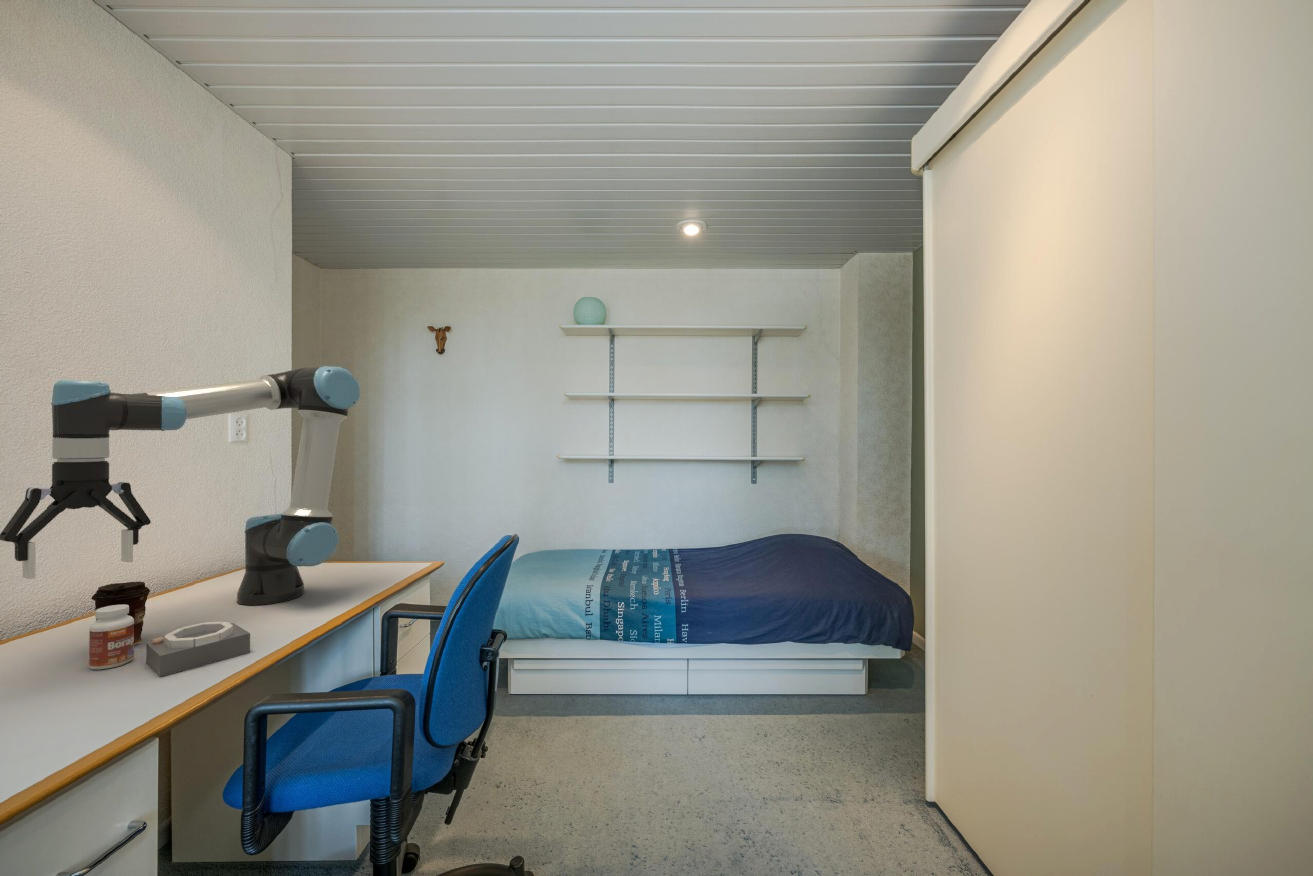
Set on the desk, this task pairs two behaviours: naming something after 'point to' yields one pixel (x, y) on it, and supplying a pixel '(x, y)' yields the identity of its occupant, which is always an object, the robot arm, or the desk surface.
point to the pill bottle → (111, 637)
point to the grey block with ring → (196, 647)
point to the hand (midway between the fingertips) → (81, 569)
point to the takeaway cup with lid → (125, 601)
